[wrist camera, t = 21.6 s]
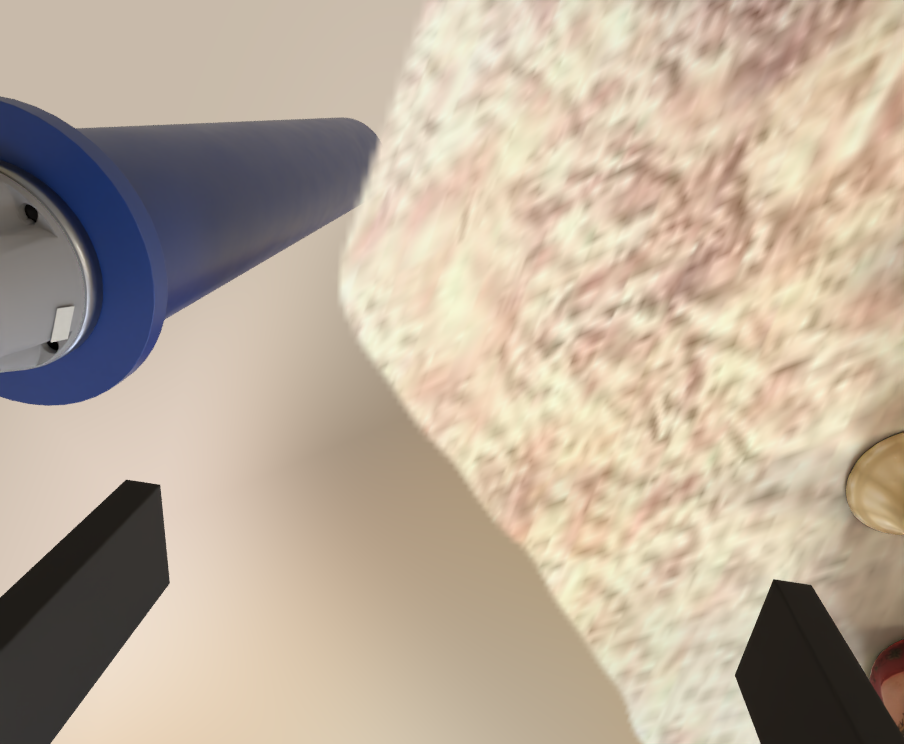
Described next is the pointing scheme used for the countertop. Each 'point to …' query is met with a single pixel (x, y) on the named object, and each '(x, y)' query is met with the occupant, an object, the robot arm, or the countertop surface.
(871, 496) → the hand bell
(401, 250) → the countertop surface
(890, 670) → the decorative planter
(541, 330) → the countertop surface
